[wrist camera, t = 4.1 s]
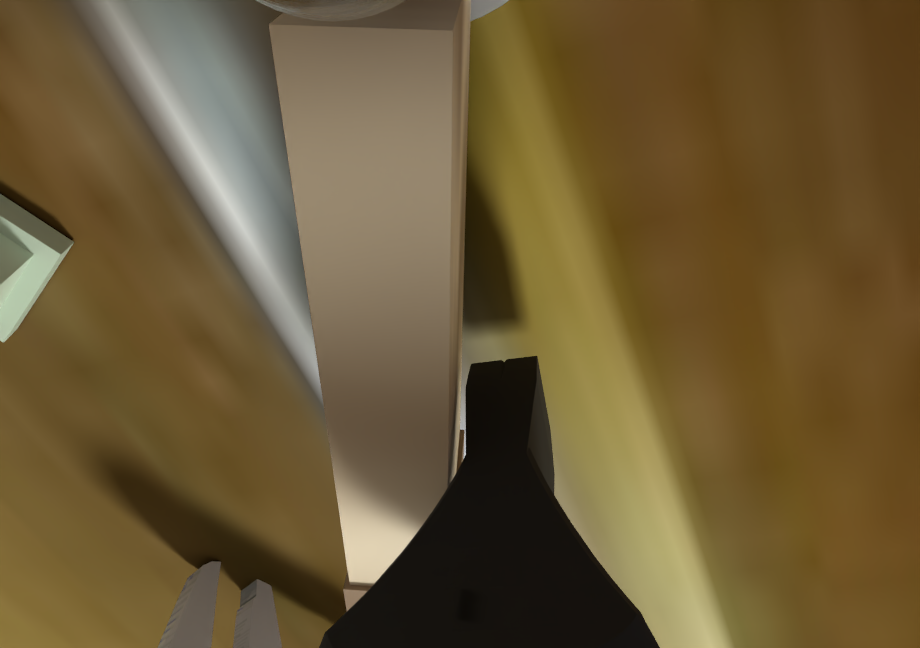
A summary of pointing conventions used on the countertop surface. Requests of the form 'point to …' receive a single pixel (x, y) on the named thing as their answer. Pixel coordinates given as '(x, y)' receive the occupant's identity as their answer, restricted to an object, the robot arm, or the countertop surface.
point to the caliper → (195, 611)
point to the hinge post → (358, 8)
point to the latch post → (25, 262)
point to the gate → (382, 255)
